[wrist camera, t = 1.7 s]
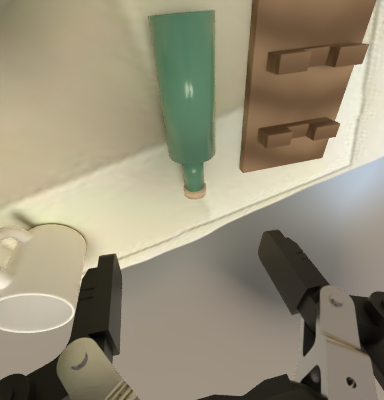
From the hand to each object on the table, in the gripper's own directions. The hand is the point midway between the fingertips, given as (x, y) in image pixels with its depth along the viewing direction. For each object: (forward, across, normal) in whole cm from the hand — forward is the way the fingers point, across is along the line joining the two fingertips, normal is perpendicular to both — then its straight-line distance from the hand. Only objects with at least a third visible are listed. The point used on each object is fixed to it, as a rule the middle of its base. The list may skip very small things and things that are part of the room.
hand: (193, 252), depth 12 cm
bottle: (+17, -3, -2) cm, 18 cm away
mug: (+18, +17, +13) cm, 28 cm away
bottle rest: (+17, -16, -4) cm, 24 cm away
